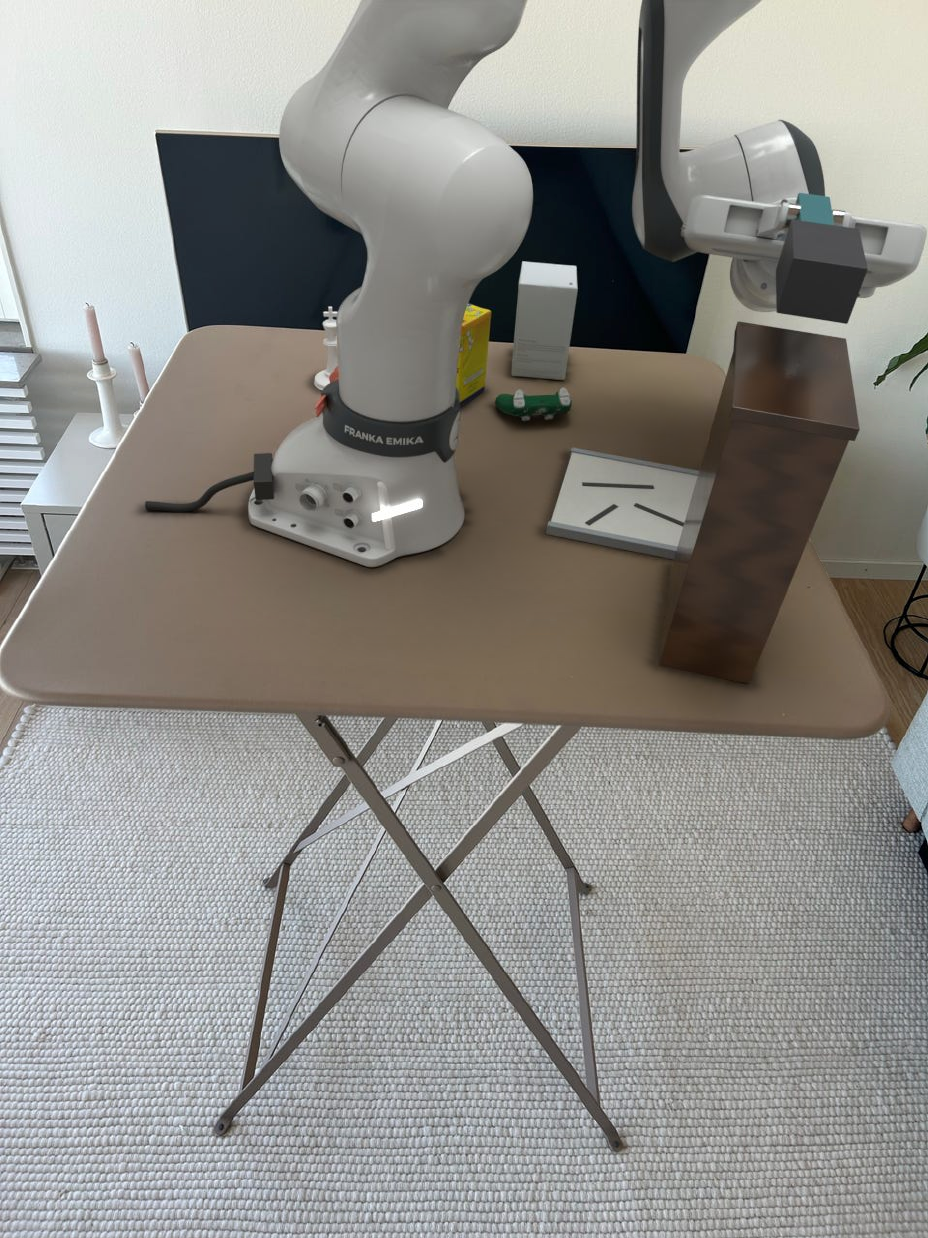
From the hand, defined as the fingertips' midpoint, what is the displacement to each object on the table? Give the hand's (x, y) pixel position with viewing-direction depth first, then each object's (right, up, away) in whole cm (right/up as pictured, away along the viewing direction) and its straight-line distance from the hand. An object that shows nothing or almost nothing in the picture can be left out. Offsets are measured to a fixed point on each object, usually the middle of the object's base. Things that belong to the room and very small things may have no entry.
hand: (815, 217), depth 72 cm
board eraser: (-1, -5, -2) cm, 5 cm away
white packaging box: (-19, +1, +48) cm, 51 cm away
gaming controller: (-20, -8, +38) cm, 44 cm away
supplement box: (-30, -4, +41) cm, 51 cm away
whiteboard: (-9, -21, +25) cm, 34 cm away
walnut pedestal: (-6, -33, +12) cm, 35 cm away
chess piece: (-45, -3, +41) cm, 61 cm away
